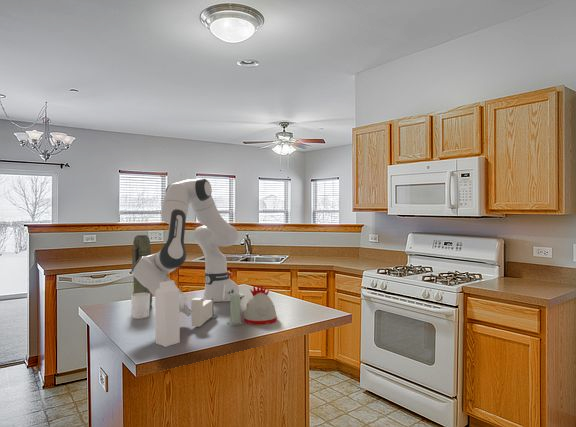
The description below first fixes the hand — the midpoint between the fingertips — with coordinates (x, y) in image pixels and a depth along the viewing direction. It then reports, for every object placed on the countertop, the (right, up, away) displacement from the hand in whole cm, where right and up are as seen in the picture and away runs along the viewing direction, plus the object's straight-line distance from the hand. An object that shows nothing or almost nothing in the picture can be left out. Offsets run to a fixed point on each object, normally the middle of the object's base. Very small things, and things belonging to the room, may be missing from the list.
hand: (190, 314), depth 164 cm
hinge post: (+5, -5, +15) cm, 17 cm away
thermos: (-31, -5, +34) cm, 46 cm away
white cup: (-26, -6, +17) cm, 31 cm away
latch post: (+17, -5, +4) cm, 19 cm away
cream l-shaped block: (+4, -4, +6) cm, 8 cm away
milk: (-3, -6, -19) cm, 20 cm away
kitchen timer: (+27, -5, +10) cm, 30 cm away
